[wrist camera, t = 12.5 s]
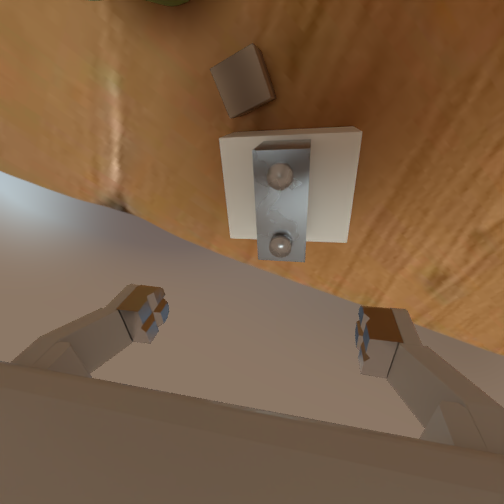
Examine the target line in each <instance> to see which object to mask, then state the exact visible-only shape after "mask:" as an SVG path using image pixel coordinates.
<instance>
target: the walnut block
mask: <svg viewBox="0 0 504 504" xmlns="http://www.w3.org/2000/svg"><path fill="white" fill-rule="evenodd" d="M210 71H211V73H212V76H213V78H214V81H215V83H216V85H217V88H218V90H219V93H220V95H221V98H222V100H223V103H224V105H225V108H226V110H227V112H228V115H229V117H230V118H235V117H239V116H242V115H244V114H246V113H248V112H250V111H252V110H254V109H256V108H258V107H260V106H262V105H264V104H266V103H268V102H270V101H272V100H274V99H276V95H275V92H274V89H273V86H272V82H271V79H270V76H269V73H268V70H267V67H266V64H265V61H264V58H263V55H262V52H261V50H260V49H259V48H257V47H256V46H255V45H254V44H253V43H252V44H250V45H248V46H247V47H245V48H244V49H242V50H240V51H239V52H237V53H235V54H234V55H232V56H230V57H229V58H227V59H225V60H224V61H222V62H220V63H219V64H217V65H215V66H214V67H212V68H210Z"/></svg>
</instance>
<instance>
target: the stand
mask: <svg viewBox="0 0 504 504" xmlns="http://www.w3.org/2000/svg"><path fill="white" fill-rule="evenodd" d="M300 139H311V151H310V171H309V190H308V210H307V229H306V241H314V242H340V243H347V238H348V231H349V224H350V217H351V210H352V203H353V196H354V189H355V182H356V175H357V168H358V161H359V153H360V146H361V139H362V131H361V130H359V129H357V128H356V127H354V126H348V127H327V128H307V129H286V130H266V131H245V132H233V133H230V134H228V135H225V136H223V137H220V138H219V143H220V152H221V160H222V169H223V178H224V186H225V195H226V204H227V212H228V221H229V230H230V238H238V239H257V228H256V210H255V192H254V174H253V156H252V150H253V149H255V148H256V147H257V146H258V145H259V144H261V143H262V142H263V141H275V140H300Z"/></svg>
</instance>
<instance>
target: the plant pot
mask: <svg viewBox="0 0 504 504" xmlns="http://www.w3.org/2000/svg"><path fill="white" fill-rule="evenodd" d="M90 1H100V0H90ZM146 1H150V2H154V3H158V4H162V5H166V6H177V5H180V4H183V3H186V2H188V1H189V0H146Z"/></svg>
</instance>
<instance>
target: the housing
mask: <svg viewBox="0 0 504 504" xmlns="http://www.w3.org/2000/svg"><path fill="white" fill-rule="evenodd" d="M310 151H311V139H300V140H275V141H263V142H262V143H261V144H259V145H258V146H257V147H256V148H255V149H253V150H252V156H253V174H254V192H255V210H256V228H257V246H258V260H275V261H293V262H305V249H306V229H307V210H308V190H309V171H310Z"/></svg>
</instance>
